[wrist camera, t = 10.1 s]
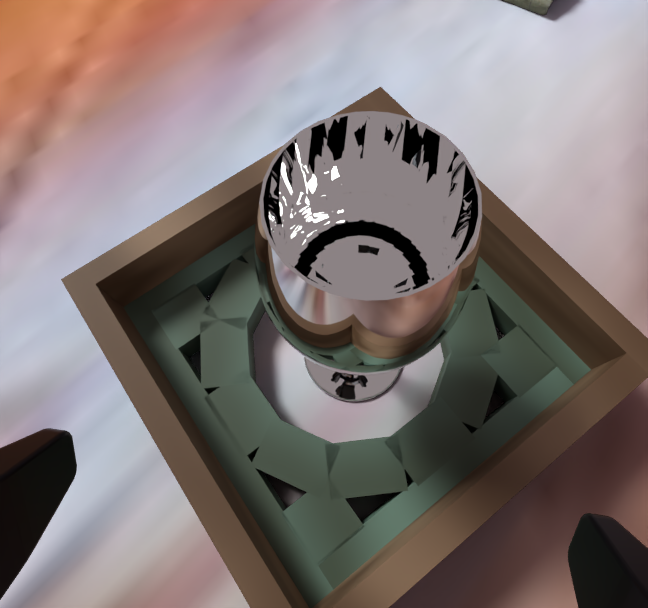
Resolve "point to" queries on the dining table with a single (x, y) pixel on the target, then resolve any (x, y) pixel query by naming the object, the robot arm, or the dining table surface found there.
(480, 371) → the caddy
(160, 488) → the dining table surface
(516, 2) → the dish towel
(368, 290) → the wineglass
